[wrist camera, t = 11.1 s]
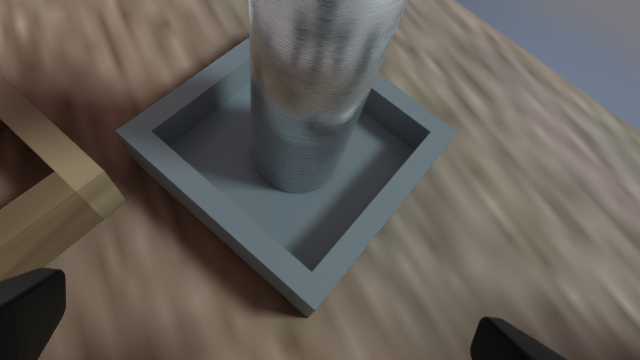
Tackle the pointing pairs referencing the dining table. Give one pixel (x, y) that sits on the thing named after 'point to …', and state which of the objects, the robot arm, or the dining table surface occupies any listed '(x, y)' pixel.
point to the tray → (272, 204)
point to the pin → (312, 82)
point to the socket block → (49, 191)
